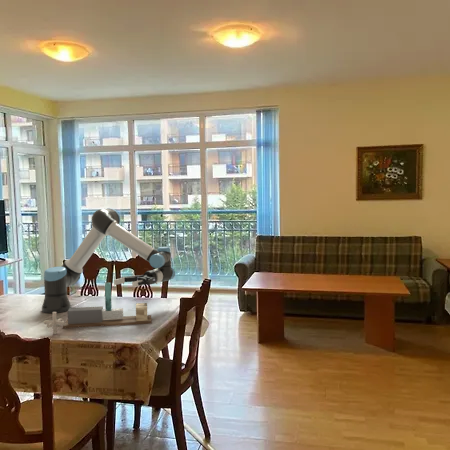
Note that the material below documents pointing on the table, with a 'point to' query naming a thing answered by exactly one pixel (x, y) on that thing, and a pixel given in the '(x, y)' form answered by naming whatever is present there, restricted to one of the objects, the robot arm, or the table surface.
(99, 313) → the outer sleeve
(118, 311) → the bar with teal cylinder
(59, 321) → the pipe connector
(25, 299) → the table surface
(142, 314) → the socket block
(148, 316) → the base board
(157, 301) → the table surface
